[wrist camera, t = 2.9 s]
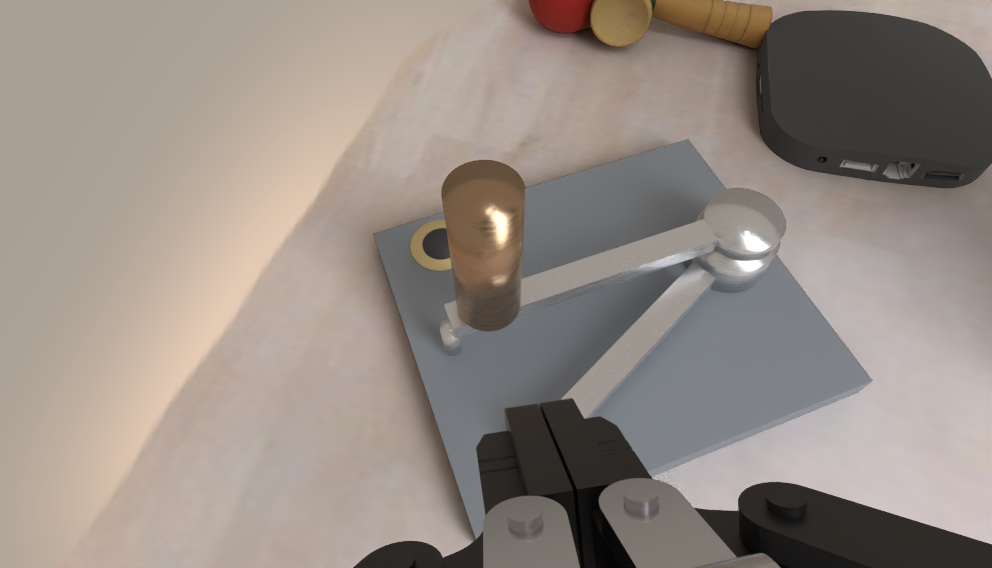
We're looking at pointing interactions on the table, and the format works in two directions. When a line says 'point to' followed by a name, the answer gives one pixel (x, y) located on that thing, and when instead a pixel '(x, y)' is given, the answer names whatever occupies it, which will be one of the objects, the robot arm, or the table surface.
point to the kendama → (631, 4)
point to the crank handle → (499, 249)
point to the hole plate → (618, 326)
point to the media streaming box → (874, 98)
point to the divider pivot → (663, 322)
